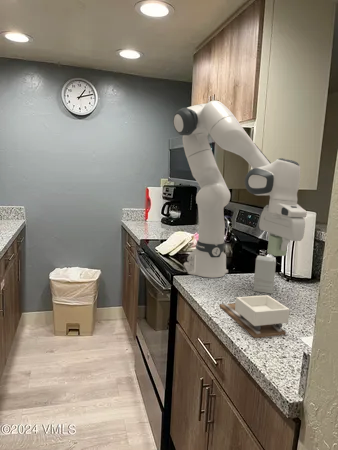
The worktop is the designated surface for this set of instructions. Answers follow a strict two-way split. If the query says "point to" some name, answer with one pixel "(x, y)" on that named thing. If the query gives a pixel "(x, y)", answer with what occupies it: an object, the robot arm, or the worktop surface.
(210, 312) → the worktop surface
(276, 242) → the block
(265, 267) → the supplement box
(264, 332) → the track
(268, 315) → the square white tray
